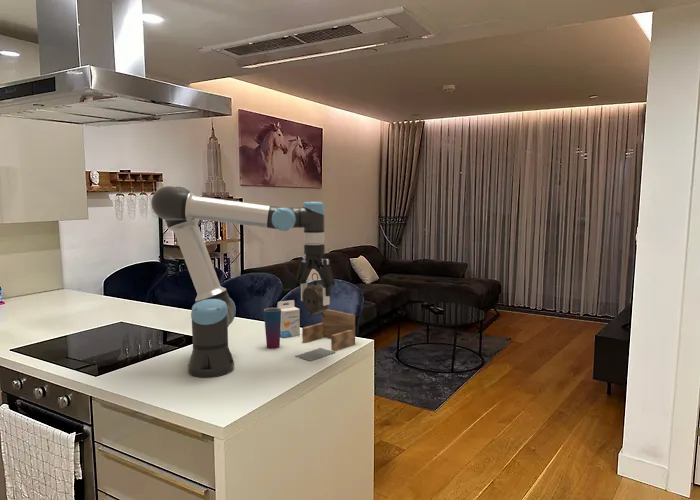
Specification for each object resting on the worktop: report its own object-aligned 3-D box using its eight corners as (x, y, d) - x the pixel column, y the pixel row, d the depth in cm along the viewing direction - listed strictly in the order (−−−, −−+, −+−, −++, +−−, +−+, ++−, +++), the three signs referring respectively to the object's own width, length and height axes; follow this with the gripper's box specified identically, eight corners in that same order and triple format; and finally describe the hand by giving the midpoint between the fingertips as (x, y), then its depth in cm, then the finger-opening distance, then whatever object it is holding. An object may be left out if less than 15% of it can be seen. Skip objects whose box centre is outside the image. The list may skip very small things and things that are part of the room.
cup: (285, 346, 195) (284, 309, 193) (273, 350, 189) (272, 312, 188) (272, 343, 199) (272, 307, 197) (260, 347, 193) (260, 310, 192)
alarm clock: (330, 317, 180) (329, 273, 178) (318, 319, 176) (318, 275, 175) (311, 312, 188) (311, 270, 186) (300, 314, 184) (299, 272, 183)
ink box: (282, 338, 206) (281, 303, 205) (277, 335, 210) (276, 301, 209) (300, 335, 211) (299, 301, 209) (295, 332, 215) (294, 299, 213)
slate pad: (310, 361, 176) (310, 360, 176) (295, 356, 182) (295, 355, 181) (335, 353, 186) (335, 352, 186) (320, 348, 191) (320, 347, 191)
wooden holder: (334, 351, 188) (333, 320, 187) (302, 342, 200) (302, 313, 199) (355, 344, 197) (355, 314, 196) (324, 335, 209) (323, 308, 208)
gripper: (344, 244, 174) (345, 305, 177) (300, 241, 190) (301, 297, 192) (330, 246, 169) (330, 308, 171) (285, 242, 185) (286, 300, 187)
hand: (315, 302), depth 182 cm, fingers closed on alarm clock, 11 cm apart
